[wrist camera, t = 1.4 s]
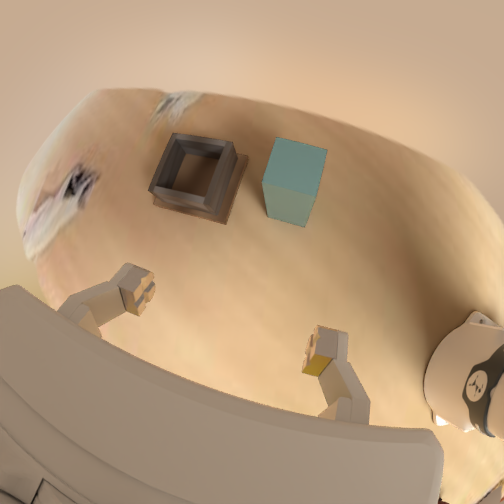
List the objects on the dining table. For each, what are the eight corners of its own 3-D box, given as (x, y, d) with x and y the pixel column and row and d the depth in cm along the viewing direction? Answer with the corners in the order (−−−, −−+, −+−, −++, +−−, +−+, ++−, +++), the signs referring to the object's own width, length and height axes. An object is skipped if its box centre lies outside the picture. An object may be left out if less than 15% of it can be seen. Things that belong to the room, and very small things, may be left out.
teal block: (313, 192, 36) (327, 149, 24) (304, 227, 35) (316, 196, 23) (278, 183, 36) (276, 136, 24) (267, 217, 36) (261, 182, 24)
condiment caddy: (248, 159, 37) (243, 139, 32) (226, 224, 36) (216, 213, 31) (180, 146, 39) (167, 127, 33) (156, 206, 38) (138, 193, 32)
